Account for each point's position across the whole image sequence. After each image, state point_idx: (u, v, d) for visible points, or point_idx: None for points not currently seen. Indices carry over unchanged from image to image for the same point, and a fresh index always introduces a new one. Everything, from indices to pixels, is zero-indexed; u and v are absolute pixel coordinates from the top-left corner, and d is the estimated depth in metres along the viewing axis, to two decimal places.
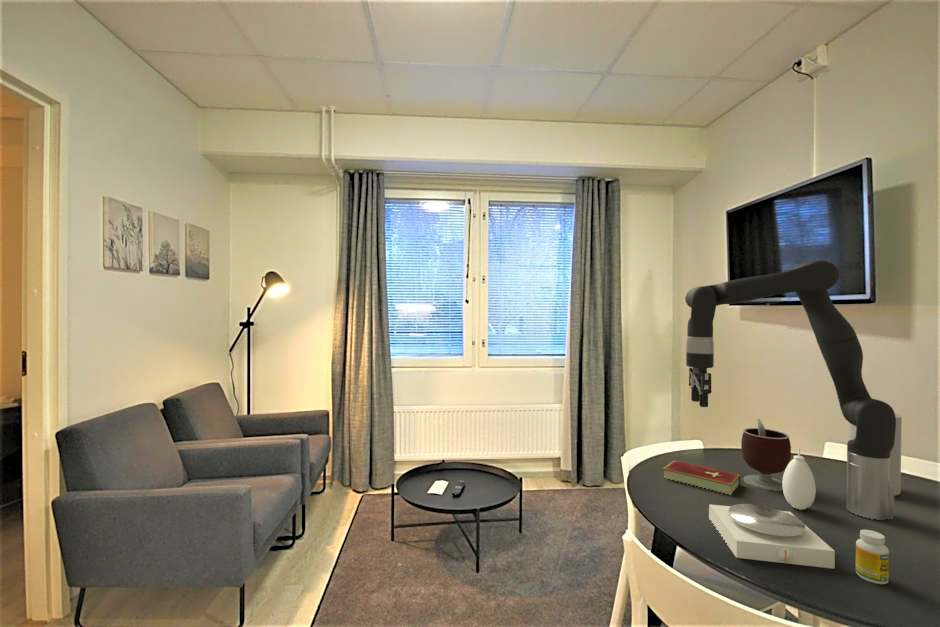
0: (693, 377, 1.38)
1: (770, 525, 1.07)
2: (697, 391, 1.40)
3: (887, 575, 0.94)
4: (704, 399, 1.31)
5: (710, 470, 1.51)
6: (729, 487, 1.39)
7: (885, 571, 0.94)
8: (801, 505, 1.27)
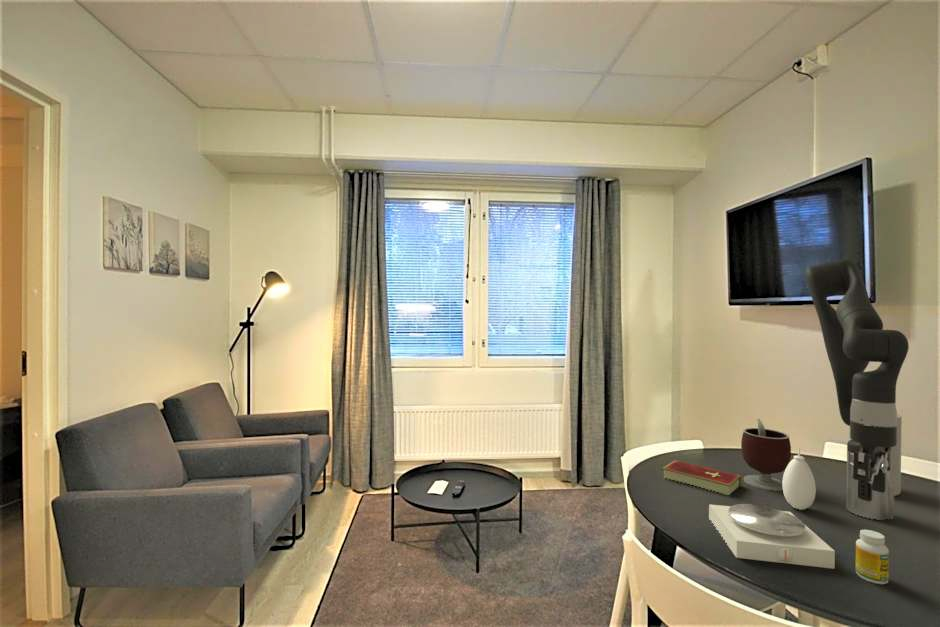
0: None
1: (770, 525, 1.07)
2: None
3: (887, 575, 0.94)
4: None
5: (710, 470, 1.51)
6: (728, 487, 1.39)
7: (885, 571, 0.94)
8: (801, 505, 1.27)
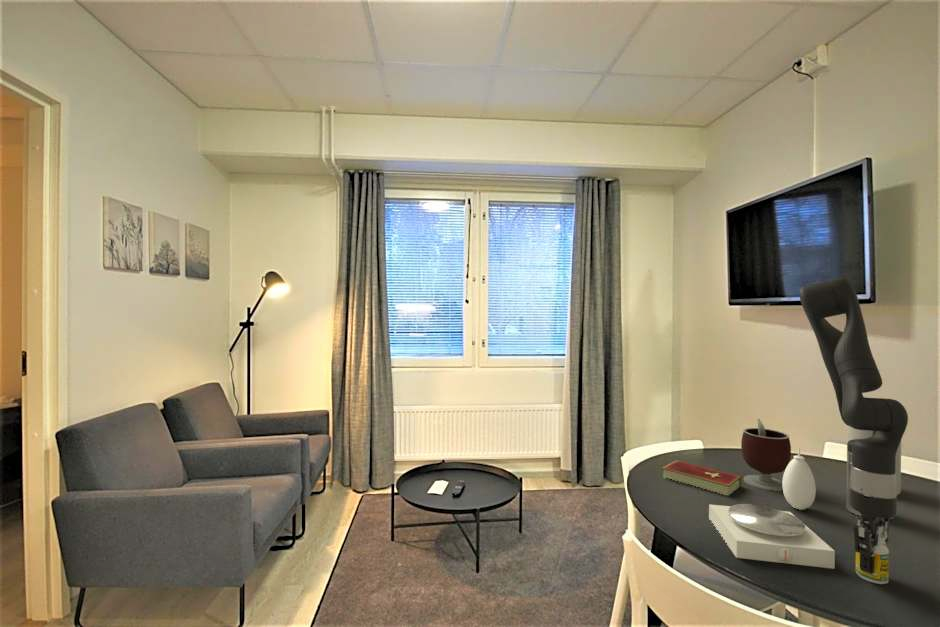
0: None
1: (770, 525, 1.07)
2: None
3: (887, 575, 0.94)
4: None
5: (711, 471, 1.51)
6: (726, 488, 1.39)
7: (885, 570, 0.94)
8: (801, 505, 1.27)
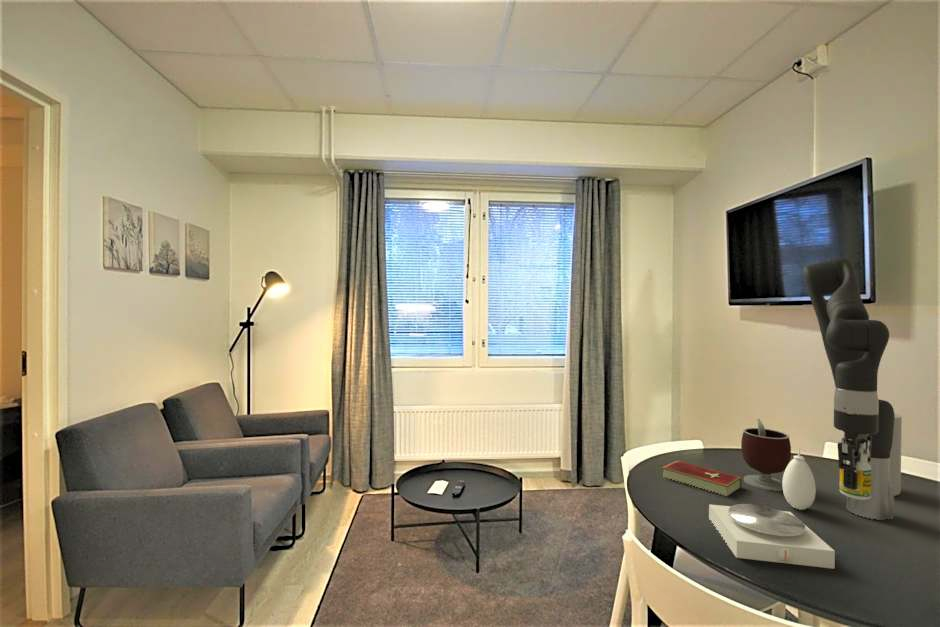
0: None
1: (770, 525, 1.07)
2: None
3: (870, 491, 0.96)
4: None
5: (711, 471, 1.50)
6: (725, 488, 1.39)
7: (868, 486, 0.96)
8: (801, 505, 1.27)
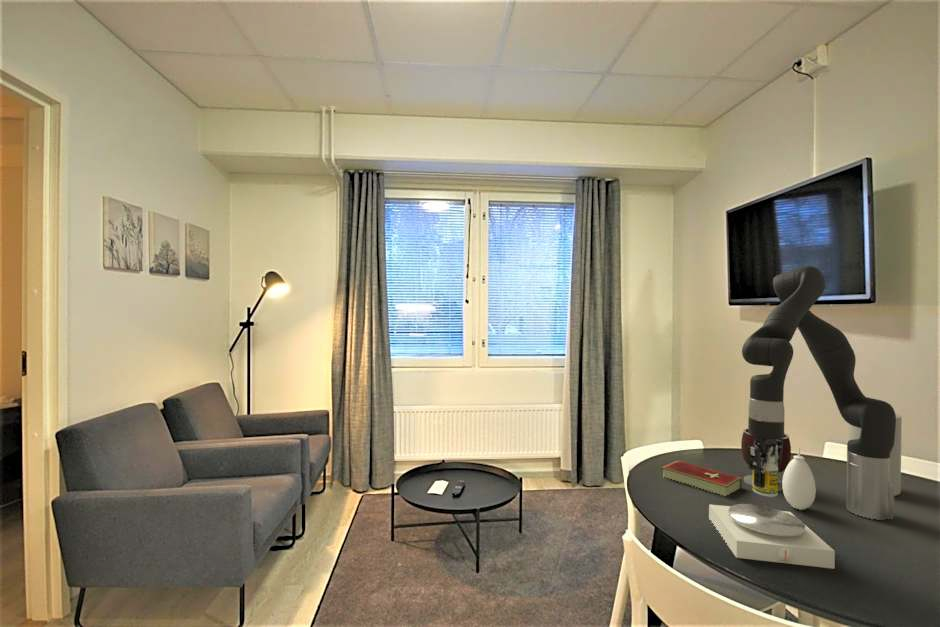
0: None
1: (770, 525, 1.07)
2: None
3: (776, 489, 1.09)
4: None
5: (711, 471, 1.50)
6: (724, 488, 1.38)
7: (774, 485, 1.09)
8: (801, 505, 1.27)
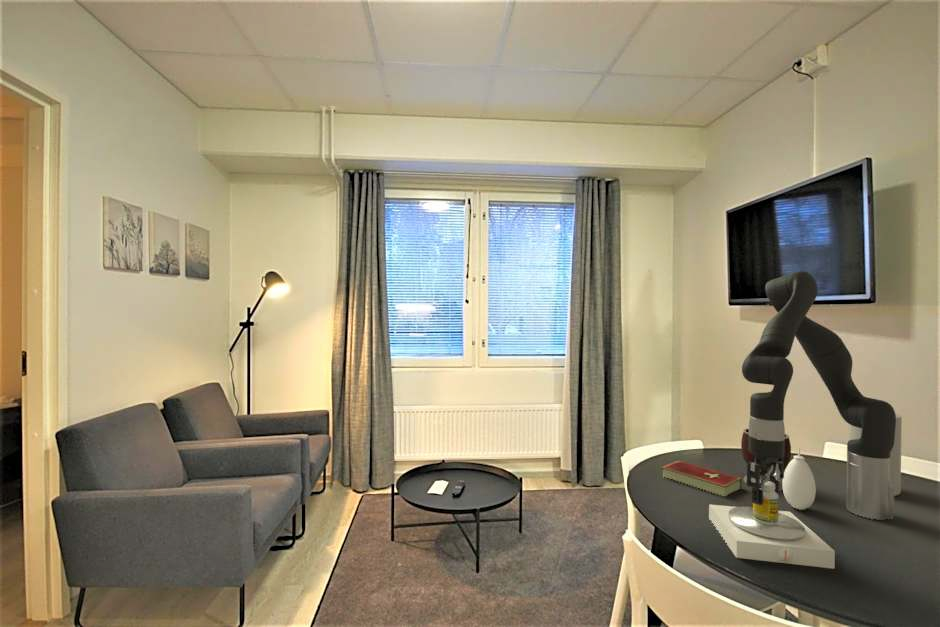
0: None
1: (770, 528, 1.07)
2: None
3: (776, 517, 1.09)
4: None
5: (711, 472, 1.50)
6: (723, 488, 1.38)
7: (774, 513, 1.09)
8: (801, 505, 1.27)
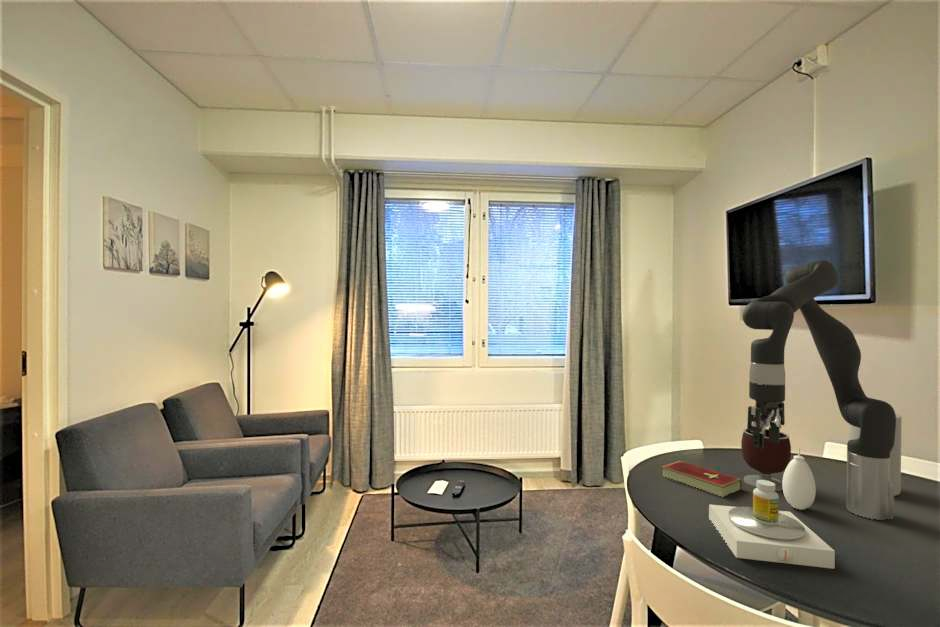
0: None
1: (770, 528, 1.07)
2: None
3: (776, 517, 1.09)
4: None
5: (711, 472, 1.49)
6: (721, 489, 1.38)
7: (774, 513, 1.09)
8: (801, 505, 1.27)
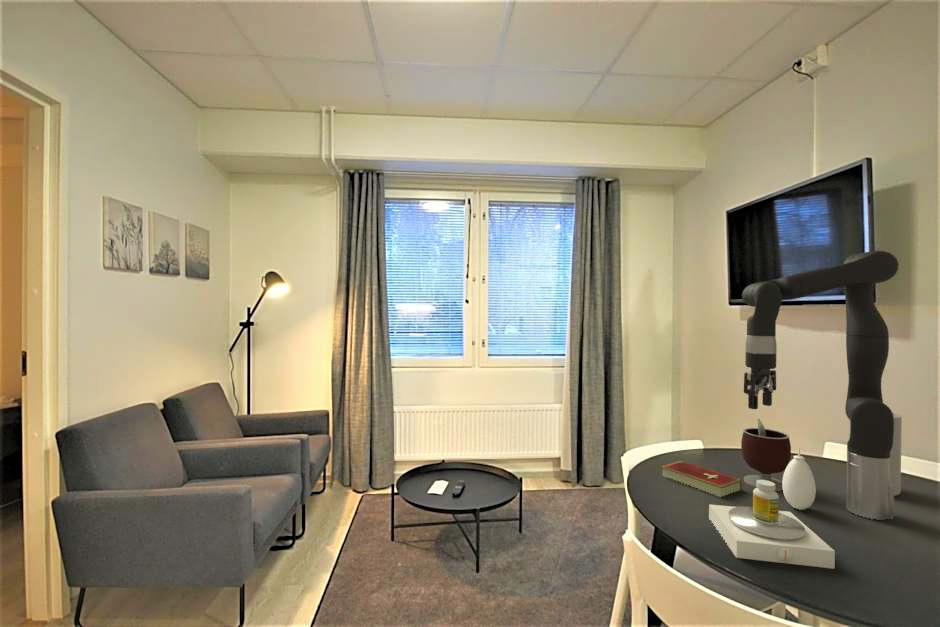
0: None
1: (770, 528, 1.07)
2: None
3: (776, 517, 1.09)
4: None
5: (712, 472, 1.49)
6: (719, 489, 1.38)
7: (774, 513, 1.09)
8: (801, 505, 1.27)
